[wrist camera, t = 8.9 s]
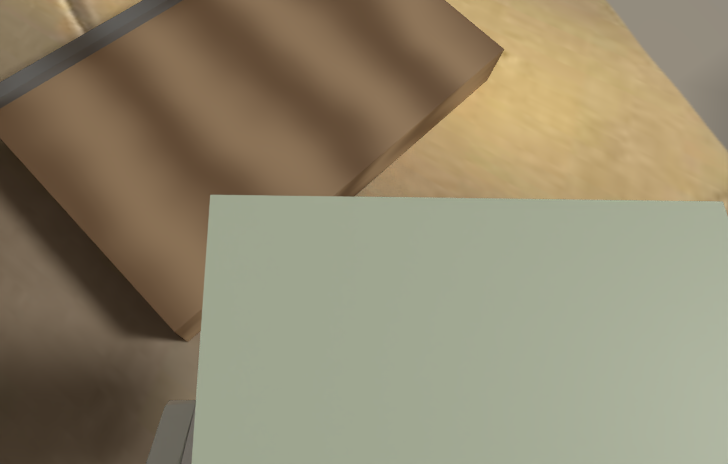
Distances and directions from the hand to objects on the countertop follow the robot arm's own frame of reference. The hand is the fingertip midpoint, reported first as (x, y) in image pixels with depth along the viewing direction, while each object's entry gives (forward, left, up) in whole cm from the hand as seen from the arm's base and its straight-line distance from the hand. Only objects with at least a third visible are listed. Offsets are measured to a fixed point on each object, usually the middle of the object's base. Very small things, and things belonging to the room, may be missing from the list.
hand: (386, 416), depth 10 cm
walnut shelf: (0, +18, -17) cm, 25 cm away
